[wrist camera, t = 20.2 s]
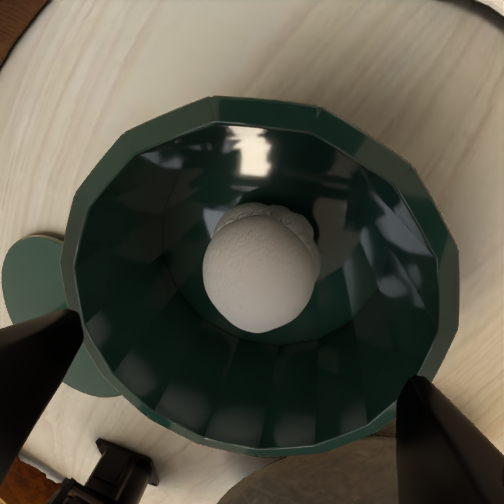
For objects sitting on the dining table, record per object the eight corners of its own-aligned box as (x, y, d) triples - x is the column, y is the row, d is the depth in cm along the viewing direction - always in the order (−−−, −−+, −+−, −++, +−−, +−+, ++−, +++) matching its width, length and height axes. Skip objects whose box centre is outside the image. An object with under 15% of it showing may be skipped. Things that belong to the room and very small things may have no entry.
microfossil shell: (319, 192, 14) (325, 229, 9) (319, 299, 16) (320, 374, 11) (221, 195, 15) (174, 231, 10) (231, 298, 17) (198, 367, 12)
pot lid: (155, 408, 22) (129, 456, 18) (32, 359, 24) (1, 390, 19) (138, 247, 17) (84, 288, 12) (-2, 222, 19) (-50, 245, 14)
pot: (363, 360, 17) (376, 468, 10) (158, 325, 19) (96, 410, 12) (420, 140, 13) (509, 154, 6) (159, 108, 14) (51, 104, 7)
